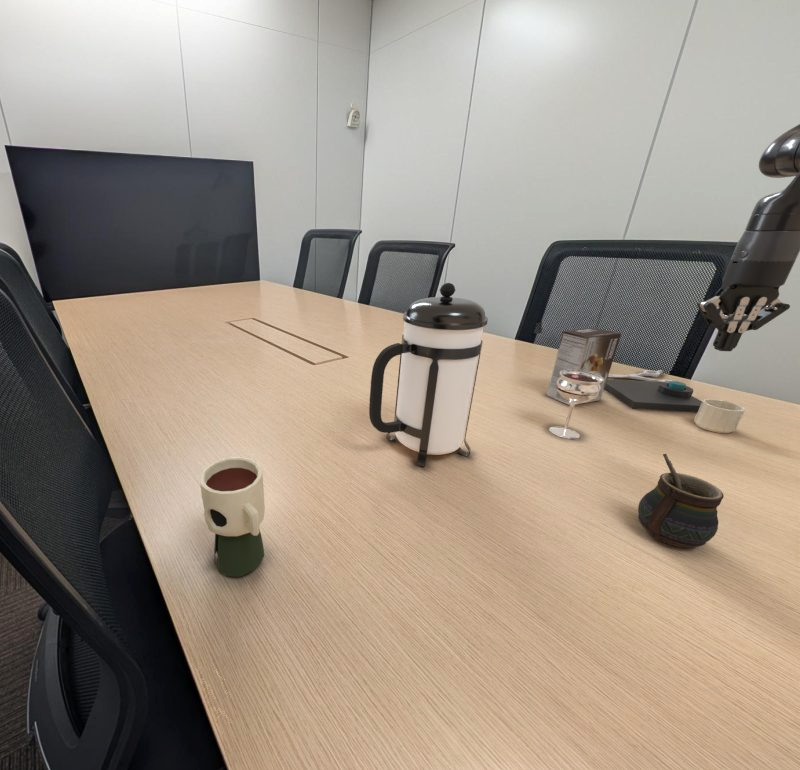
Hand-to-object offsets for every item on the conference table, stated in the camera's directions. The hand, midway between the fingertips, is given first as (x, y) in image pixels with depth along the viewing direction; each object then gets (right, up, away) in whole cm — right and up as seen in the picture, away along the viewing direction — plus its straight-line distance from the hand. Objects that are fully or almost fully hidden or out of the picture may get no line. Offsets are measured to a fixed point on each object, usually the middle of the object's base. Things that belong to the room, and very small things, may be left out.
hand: (722, 350), depth 74 cm
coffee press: (-61, -19, -4) cm, 64 cm away
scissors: (+4, -5, +25) cm, 26 cm away
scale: (-1, -10, +14) cm, 17 cm away
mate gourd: (-36, -27, -24) cm, 51 cm away
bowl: (-1, -15, +1) cm, 15 cm away
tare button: (+3, -8, +12) cm, 14 cm away
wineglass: (-31, -16, 0) cm, 35 cm away
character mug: (-92, -29, -26) cm, 100 cm away
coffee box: (-18, -10, +15) cm, 26 cm away
